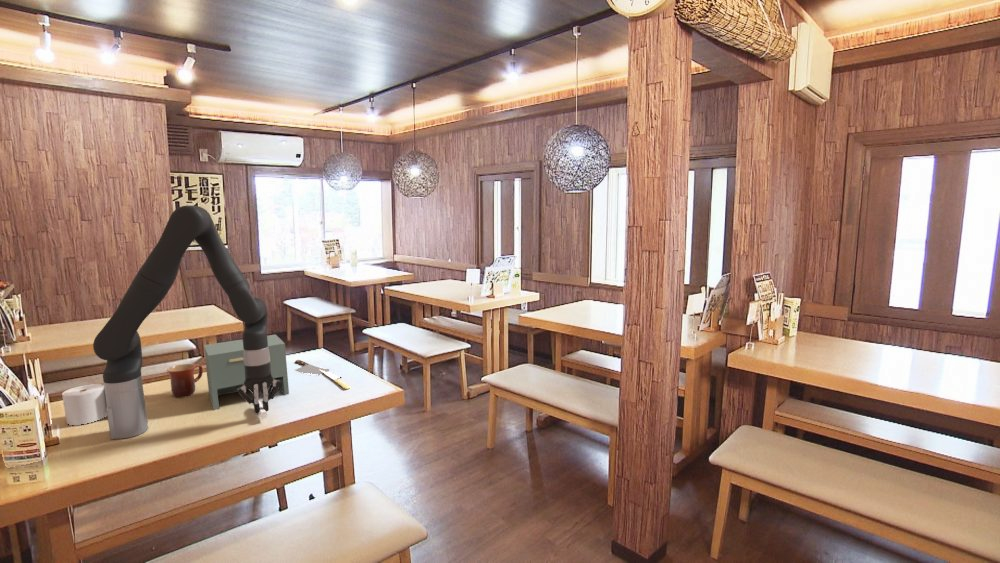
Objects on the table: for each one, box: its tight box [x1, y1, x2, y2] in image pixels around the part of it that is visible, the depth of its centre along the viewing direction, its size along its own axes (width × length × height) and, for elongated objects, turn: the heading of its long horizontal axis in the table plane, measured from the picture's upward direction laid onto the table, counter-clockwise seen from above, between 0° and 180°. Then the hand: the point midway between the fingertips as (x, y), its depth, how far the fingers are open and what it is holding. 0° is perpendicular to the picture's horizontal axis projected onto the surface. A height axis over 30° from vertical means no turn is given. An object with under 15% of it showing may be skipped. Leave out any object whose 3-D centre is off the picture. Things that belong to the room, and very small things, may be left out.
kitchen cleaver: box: [294, 359, 330, 376], centre depth 214 cm, size 24×1×10 cm
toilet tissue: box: [61, 383, 108, 426], centre depth 166 cm, size 11×12×10 cm
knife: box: [319, 366, 351, 390], centre depth 202 cm, size 1×34×5 cm
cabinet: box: [203, 333, 290, 411], centre depth 183 cm, size 24×16×19 cm
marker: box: [252, 400, 269, 420], centre depth 167 cm, size 3×2×16 cm
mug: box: [166, 363, 204, 398], centre depth 187 cm, size 12×9×10 cm
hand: (261, 413), depth 164 cm, fingers closed on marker, 1 cm apart
